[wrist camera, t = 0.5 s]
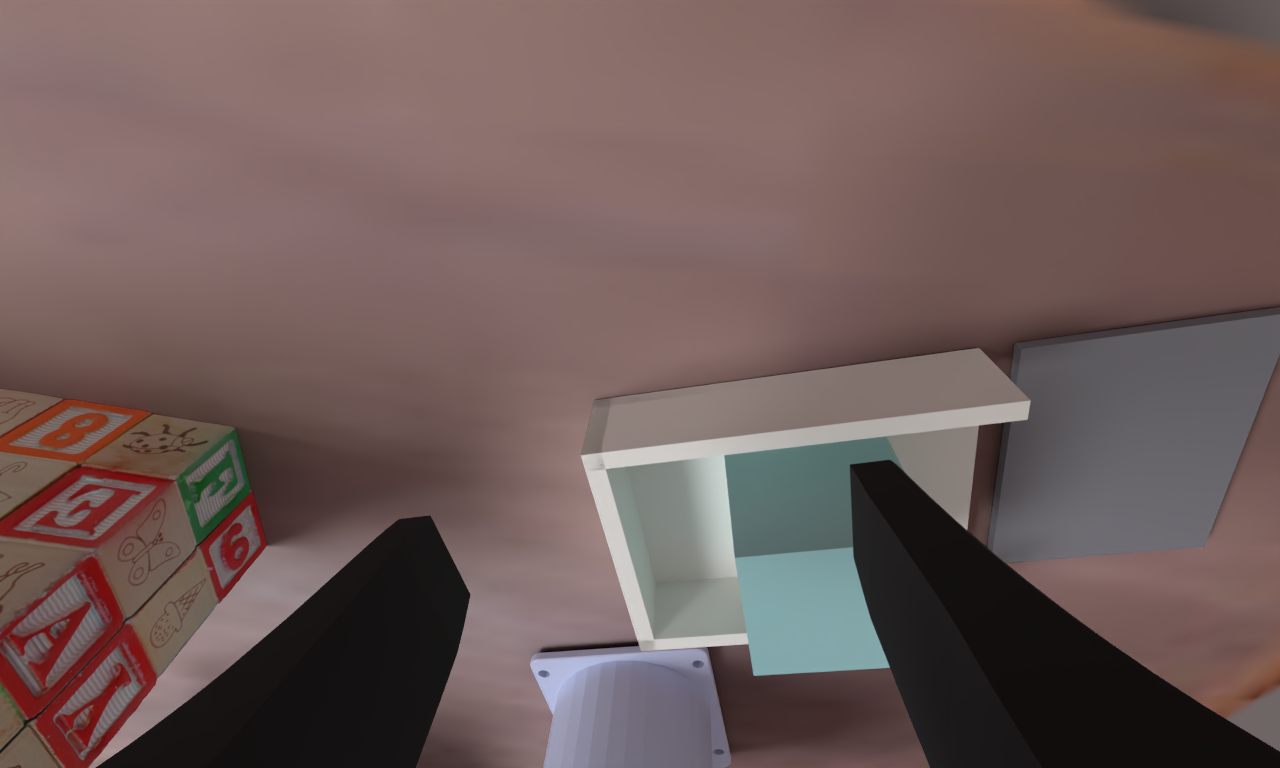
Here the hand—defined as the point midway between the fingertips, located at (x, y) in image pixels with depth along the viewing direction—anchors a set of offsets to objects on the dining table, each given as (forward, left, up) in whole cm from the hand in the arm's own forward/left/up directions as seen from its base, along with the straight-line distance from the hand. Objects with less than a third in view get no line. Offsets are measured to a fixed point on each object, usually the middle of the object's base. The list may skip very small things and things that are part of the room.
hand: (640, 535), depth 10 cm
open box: (-7, -3, -9) cm, 12 cm away
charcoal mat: (-7, -14, -9) cm, 18 cm away
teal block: (-7, -4, -9) cm, 12 cm away
